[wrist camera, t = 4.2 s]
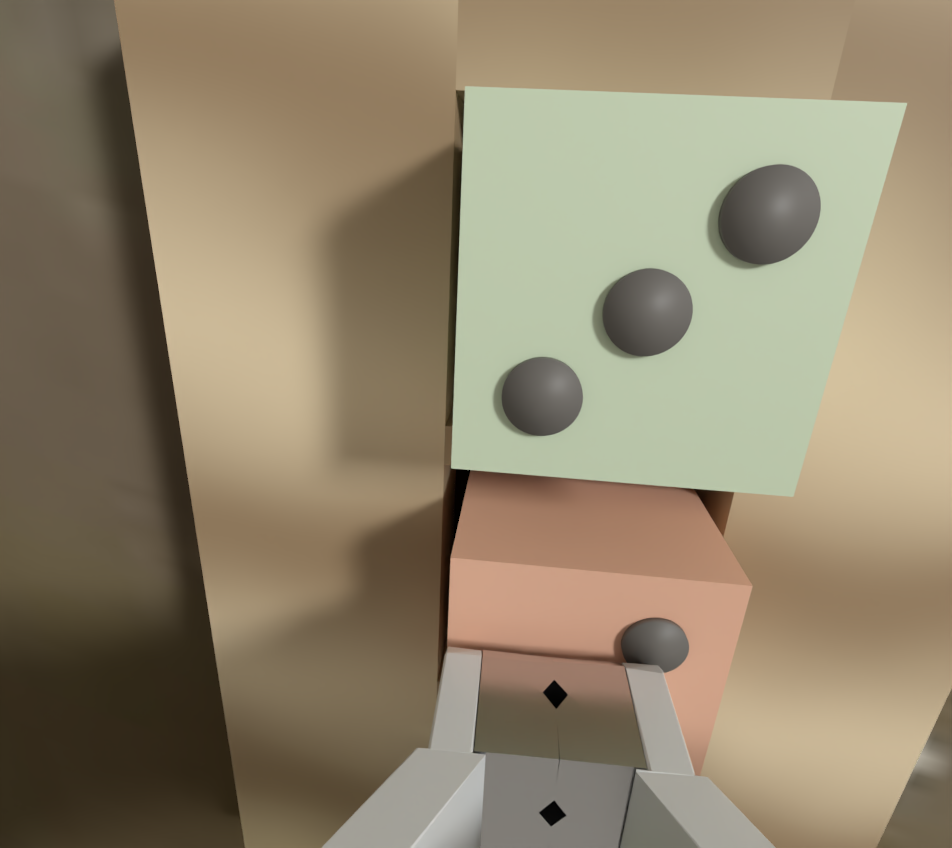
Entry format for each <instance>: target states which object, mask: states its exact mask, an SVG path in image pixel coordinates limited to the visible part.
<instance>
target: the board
mask: <svg viewBox="0 0 952 848" xmlns="http://www.w3.org/2000/svg"><path fill="white" fill-rule="evenodd" d="M114 3H115V9H116V16H117V22H118V29H119V35H120V42H121V48H122V55H123V61H124V68H125V74H126V81H127V87H128V94H129V100H130V107H131V113H132V120H133V126H134V132H135V139H136V145H137V152H138V158H139V165H140V171H141V178H142V184H143V191H144V197H145V204H146V210H147V217H148V223H149V230H150V236H151V243H152V249H153V256H154V262H155V269H156V275H157V281H158V288H159V294H160V301H161V307H162V314H163V320H164V327H165V333H166V340H167V346H168V353H169V359H170V366H171V372H172V379H173V385H174V392H175V398H176V405H177V411H178V417H179V424H180V430H181V437H182V443H183V450H184V456H185V463H186V469H187V476H188V482H189V489H190V495H191V502H192V508H193V515H194V521H195V528H196V534H197V541H198V547H199V554H200V560H201V566H202V573H203V579H204V586H205V592H206V599H207V605H208V612H209V618H210V625H211V631H212V638H213V644H214V651H215V657H216V664H217V670H218V677H219V683H220V690H221V696H222V702H223V709H224V715H225V722H226V728H227V735H228V741H229V748H230V754H231V761H232V767H233V774H234V780H235V787H236V793H237V800H238V806H239V813H240V819H241V826H242V832H243V839H244V845H245V848H321V847H322V846H323V845H324V844H325V843H326V842H327V841H328V840H329V839H330V838H331V837H332V836H333V835H334V834H335V833H336V832H337V831H338V830H339V829H340V827H341V826H342V825H343V824H344V823H345V822H346V821H347V820H348V819H349V818H350V817H351V816H352V815H353V814H354V813H355V812H356V811H357V810H358V809H359V808H360V807H361V805H362V804H363V803H364V802H365V801H366V800H367V799H368V798H369V797H370V796H371V795H372V794H373V793H374V792H375V791H376V790H377V789H378V788H379V787H380V786H381V785H382V783H383V782H384V781H385V780H386V779H387V778H388V777H389V776H390V775H391V774H392V773H393V772H394V771H395V770H396V769H397V768H398V767H399V766H400V765H401V764H402V763H403V761H404V760H405V759H406V758H407V757H408V756H409V755H410V754H411V753H412V752H413V751H414V750H415V749H416V748H428V746H429V740H430V734H431V729H432V723H433V718H434V712H435V706H436V701H437V695H438V690H439V684H440V678H441V673H442V667H443V662H444V656H445V653H446V651H447V636H448V611H449V585H450V559H451V553H452V549H453V534H454V509H455V484H456V469H452V468H451V455H452V428H453V400H454V373H455V346H456V318H457V291H458V263H459V236H460V209H461V181H462V154H463V126H464V99H465V86H474V87H500V88H527V89H553V90H580V91H606V92H632V93H659V94H685V95H712V96H738V97H764V98H791V99H817V100H844V101H870V102H896V103H907V106H906V110H905V113H904V117H903V120H902V123H901V127H900V130H899V134H898V137H897V141H896V144H895V148H894V151H893V155H892V158H891V161H890V165H889V168H888V172H887V175H886V179H885V182H884V186H883V189H882V193H881V196H880V199H879V203H878V206H877V210H876V213H875V217H874V220H873V224H872V227H871V231H870V234H869V237H868V241H867V244H866V248H865V251H864V255H863V258H862V262H861V265H860V269H859V272H858V275H857V279H856V282H855V286H854V289H853V293H852V296H851V300H850V303H849V307H848V310H847V313H846V317H845V320H844V324H843V327H842V331H841V334H840V338H839V341H838V345H837V348H836V351H835V355H834V358H833V362H832V365H831V369H830V372H829V376H828V379H827V383H826V386H825V389H824V393H823V396H822V400H821V403H820V407H819V410H818V414H817V417H816V421H815V424H814V428H813V431H812V434H811V438H810V441H809V445H808V448H807V452H806V455H805V459H804V462H803V466H802V469H801V472H800V476H799V479H798V483H797V486H796V490H795V493H794V497H788V496H776V495H764V494H752V493H740V492H728V491H716V490H704V489H694V490H695V492H696V493H697V495H698V497H699V498H700V500H701V502H702V503H703V505H704V506H705V508H706V510H707V511H708V513H709V515H710V516H711V518H712V520H713V521H714V523H715V525H716V526H717V528H718V530H719V531H720V533H721V534H722V536H723V538H724V539H725V541H726V543H727V544H728V546H729V548H730V549H731V551H732V553H733V554H734V556H735V558H736V559H737V561H738V562H739V564H740V566H741V567H742V569H743V571H744V572H745V574H746V576H747V577H748V579H749V581H750V582H751V584H752V586H753V587H752V591H751V594H750V598H749V602H748V605H747V609H746V612H745V616H744V620H743V623H742V627H741V630H740V634H739V638H738V641H737V645H736V648H735V652H734V656H733V659H732V663H731V666H730V670H729V674H728V677H727V681H726V684H725V688H724V692H723V695H722V699H721V702H720V706H719V710H718V713H717V717H716V720H715V724H714V728H713V731H712V735H711V738H710V742H709V746H708V749H707V753H706V756H705V760H704V764H703V767H702V771H701V774H700V776H704V777H708V778H709V779H710V780H711V781H712V782H713V783H714V784H715V785H716V786H717V787H718V788H719V789H720V790H721V791H722V792H723V793H724V794H725V795H726V796H727V798H728V799H729V800H730V801H731V802H732V803H733V804H734V805H735V806H736V807H737V808H738V809H739V810H740V811H741V812H742V813H743V814H744V815H745V816H746V817H747V818H748V819H749V820H750V821H751V823H752V824H753V825H754V826H755V827H756V828H757V829H758V830H759V831H760V832H761V833H762V834H763V835H764V836H765V837H766V838H767V839H768V840H769V841H770V842H771V843H772V844H773V845H774V846H775V848H876V847H877V845H878V843H879V841H880V839H881V837H882V834H883V832H884V830H885V828H886V826H887V824H888V822H889V820H890V817H891V815H892V813H893V811H894V809H895V807H896V805H897V803H898V801H899V798H900V796H901V794H902V792H903V790H904V788H905V786H906V784H907V781H908V779H909V777H910V775H911V773H912V771H913V769H914V767H915V765H916V762H917V760H918V758H919V756H920V754H921V752H922V750H923V748H924V746H925V743H926V741H927V739H928V737H929V735H930V733H931V731H932V729H933V726H934V724H935V722H936V720H937V718H938V716H939V714H940V712H941V710H942V707H943V705H944V703H945V701H946V699H947V697H948V695H949V693H950V690H951V688H952V0H114Z"/></svg>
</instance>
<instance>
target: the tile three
mask: <svg viewBox="0 0 952 848" xmlns="http://www.w3.org/2000/svg"><path fill="white" fill-rule="evenodd" d="M906 106H907V103H896V102H870V101H844V100H817V99H791V98H764V97H738V96H712V95H685V94H659V93H632V92H606V91H580V90H553V89H527V88H500V87H474V86H465V99H464V126H463V154H462V181H461V209H460V236H459V263H458V291H457V318H456V346H455V373H454V400H453V428H452V455H451V468H452V469H464V470H476V471H488V472H500V473H512V474H524V475H536V476H548V477H560V478H572V479H584V480H596V481H608V482H620V483H632V484H644V485H656V486H668V487H680V488H692V489H704V490H716V491H728V492H740V493H752V494H764V495H776V496H788V497H794V493H795V490H796V486H797V483H798V479H799V476H800V472H801V469H802V466H803V462H804V459H805V455H806V452H807V448H808V445H809V441H810V438H811V434H812V431H813V428H814V424H815V421H816V417H817V414H818V410H819V407H820V403H821V400H822V396H823V393H824V389H825V386H826V383H827V379H828V376H829V372H830V369H831V365H832V362H833V358H834V355H835V351H836V348H837V345H838V341H839V338H840V334H841V331H842V327H843V324H844V320H845V317H846V313H847V310H848V307H849V303H850V300H851V296H852V293H853V289H854V286H855V282H856V279H857V275H858V272H859V269H860V265H861V262H862V258H863V255H864V251H865V248H866V244H867V241H868V237H869V234H870V231H871V227H872V224H873V220H874V217H875V213H876V210H877V206H878V203H879V199H880V196H881V193H882V189H883V186H884V182H885V179H886V175H887V172H888V168H889V165H890V161H891V158H892V155H893V151H894V148H895V144H896V141H897V137H898V134H899V130H900V127H901V123H902V120H903V117H904V113H905V110H906Z"/></svg>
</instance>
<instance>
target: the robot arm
mask: <svg viewBox="0 0 952 848" xmlns="http://www.w3.org/2000/svg"><path fill="white" fill-rule="evenodd" d="M321 848H775V846H774V845H773V844H772V843H771V842H770V841H769V840H768V839H767V838H766V837H765V836H764V835H763V834H762V833H761V832H760V831H759V830H758V829H757V828H756V827H755V826H754V825H753V824H752V823H751V821H750V820H749V819H748V818H747V817H746V816H745V815H744V814H743V813H742V812H741V811H740V810H739V809H738V808H737V807H736V806H735V805H734V804H733V803H732V802H731V801H730V800H729V799H728V798H727V796H726V795H725V794H724V793H723V792H722V791H721V790H720V789H719V788H718V787H717V786H716V785H715V784H714V783H713V782H712V781H711V780H710V779H709V778H708V777H704V776H697V775H695V772H694V769H693V766H692V763H691V759H690V756H689V753H688V750H687V747H686V743H685V740H684V737H683V734H682V730H681V727H680V724H679V721H678V718H677V714H676V711H675V708H674V705H673V701H672V698H671V695H670V692H669V689H668V685H667V682H666V679H665V676H664V672H663V670H662V669H661V668H660V667H659V666H658V665H648V664H635V663H622V664H621V663H618V662H606V661H593V660H580V659H568V658H555V657H542V656H533V655H524V654H516V653H507V652H498V651H489V650H483V658H482V651H481V650H473V649H465V648H456V647H448V648H447V651H446V653H445V656H444V662H443V667H442V673H441V678H440V684H439V690H438V695H437V701H436V706H435V712H434V718H433V723H432V729H431V734H430V740H429V746H428V748H416V749H415V750H414V751H413V752H412V753H411V754H410V755H409V756H408V757H407V758H406V759H405V760H404V761H403V763H402V764H401V765H400V766H399V767H398V768H397V769H396V770H395V771H394V772H393V773H392V774H391V775H390V776H389V777H388V778H387V779H386V780H385V781H384V782H383V783H382V785H381V786H380V787H379V788H378V789H377V790H376V791H375V792H374V793H373V794H372V795H371V796H370V797H369V798H368V799H367V800H366V801H365V802H364V803H363V804H362V805H361V807H360V808H359V809H358V810H357V811H356V812H355V813H354V814H353V815H352V816H351V817H350V818H349V819H348V820H347V821H346V822H345V823H344V824H343V825H342V826H341V827H340V829H339V830H338V831H337V832H336V833H335V834H334V835H333V836H332V837H331V838H330V839H329V840H328V841H327V842H326V843H325V844H324V845H323V846H322V847H321Z"/></svg>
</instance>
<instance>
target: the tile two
mask: <svg viewBox="0 0 952 848" xmlns="http://www.w3.org/2000/svg"><path fill="white" fill-rule="evenodd" d="M752 587H753V586H752V584H751V582H750V581H749V579H748V577H747V576H746V574H745V572H744V571H743V569H742V567H741V566H740V564H739V562H738V561H737V559H736V558H735V556H734V554H733V553H732V551H731V549H730V548H729V546H728V544H727V543H726V541H725V539H724V538H723V536H722V534H721V533H720V531H719V530H718V528H717V526H716V525H715V523H714V521H713V520H712V518H711V516H710V515H709V513H708V511H707V510H706V508H705V506H704V505H703V503H702V502H701V500H700V498H699V497H698V495H697V493H696V492H695V490H694V489H692V488H680V487H668V486H656V485H644V484H632V483H620V482H608V481H596V480H584V479H572V478H560V477H548V476H536V475H524V474H512V473H500V472H488V471H476V470H470V474H469V478H468V483H467V487H466V492H465V496H464V500H463V505H462V509H461V514H460V518H459V523H458V527H457V531H456V536H455V540H454V545H453V549H452V553H451V559H450V585H449V611H448V636H447V648H448V647H456V648H465V649H473V650H481V651H482V658H483V650H489V651H498V652H507V653H516V654H524V655H533V656H542V657H555V658H568V659H580V660H593V661H606V662H618V663H621V664H622V663H635V664H648V665H658V666H659V667H660V668H661V669H662V670H663V672H664V676H665V679H666V682H667V685H668V689H669V692H670V695H671V698H672V701H673V705H674V708H675V711H676V714H677V718H678V721H679V724H680V727H681V730H682V734H683V737H684V740H685V743H686V747H687V750H688V753H689V756H690V759H691V763H692V766H693V769H694V772H695V775H697V776H700V774H701V771H702V767H703V764H704V760H705V756H706V753H707V749H708V746H709V742H710V738H711V735H712V731H713V728H714V724H715V720H716V717H717V713H718V710H719V706H720V702H721V699H722V695H723V692H724V688H725V684H726V681H727V677H728V674H729V670H730V666H731V663H732V659H733V656H734V652H735V648H736V645H737V641H738V638H739V634H740V630H741V627H742V623H743V620H744V616H745V612H746V609H747V605H748V602H749V598H750V594H751V591H752Z"/></svg>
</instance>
